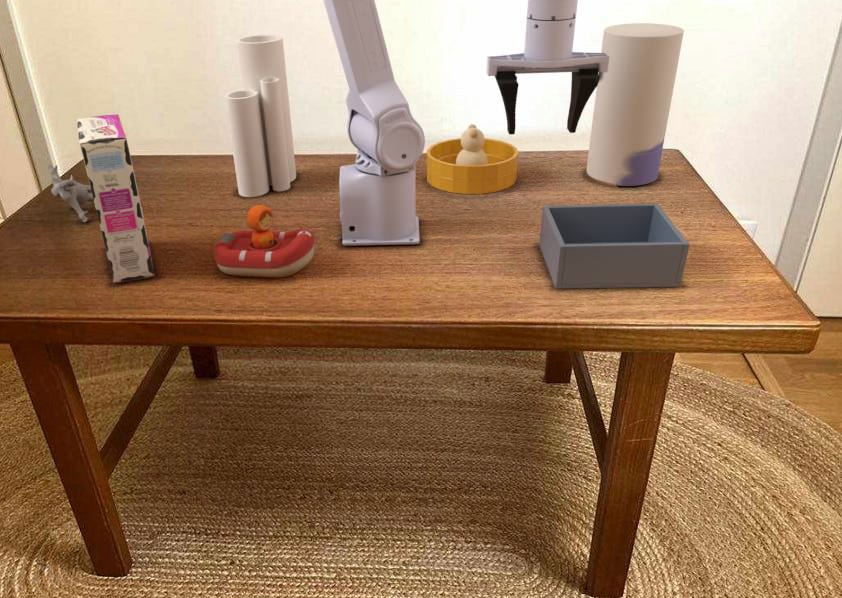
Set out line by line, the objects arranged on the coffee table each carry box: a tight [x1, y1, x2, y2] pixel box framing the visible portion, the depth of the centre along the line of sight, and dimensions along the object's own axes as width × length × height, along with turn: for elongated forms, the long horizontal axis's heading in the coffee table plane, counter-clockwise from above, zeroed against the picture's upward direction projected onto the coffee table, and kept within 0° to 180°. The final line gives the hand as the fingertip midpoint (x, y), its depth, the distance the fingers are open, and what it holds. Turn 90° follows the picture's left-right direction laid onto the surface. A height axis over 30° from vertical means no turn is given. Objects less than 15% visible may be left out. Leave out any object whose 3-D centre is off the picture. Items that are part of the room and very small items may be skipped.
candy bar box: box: [76, 114, 156, 284], centre depth 84 cm, size 11×5×16 cm, turn 21°
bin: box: [538, 203, 691, 290], centre depth 81 cm, size 13×11×5 cm
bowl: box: [426, 137, 520, 195], centre depth 105 cm, size 13×13×4 cm
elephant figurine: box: [47, 163, 94, 223], centre depth 102 cm, size 10×6×9 cm
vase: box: [224, 34, 297, 198], centre depth 104 cm, size 11×7×20 cm, turn 166°
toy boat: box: [214, 204, 315, 279], centre depth 83 cm, size 8×12×8 cm, turn 81°
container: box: [585, 22, 685, 187], centre depth 101 cm, size 10×10×20 cm
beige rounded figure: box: [456, 123, 488, 165], centre depth 104 cm, size 5×5×8 cm
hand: (541, 131), depth 94 cm, fingers open, 7 cm apart
